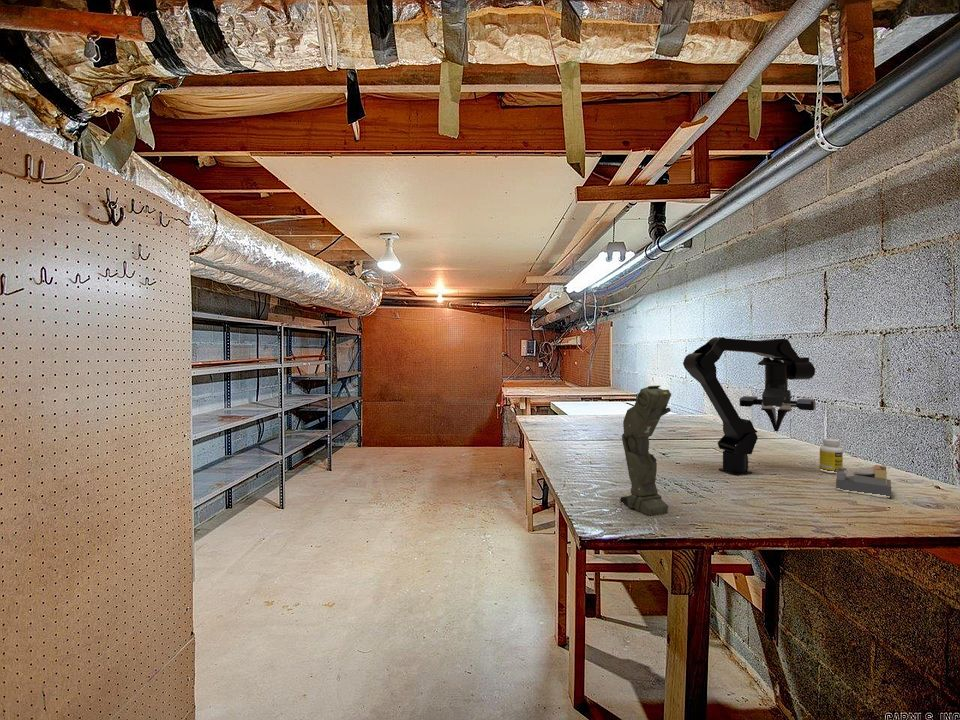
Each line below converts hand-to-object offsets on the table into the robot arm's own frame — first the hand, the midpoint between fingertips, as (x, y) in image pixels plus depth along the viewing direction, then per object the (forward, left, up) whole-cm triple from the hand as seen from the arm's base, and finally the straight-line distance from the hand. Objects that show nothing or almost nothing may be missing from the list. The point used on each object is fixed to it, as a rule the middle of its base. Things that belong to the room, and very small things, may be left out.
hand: (776, 431), depth 135 cm
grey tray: (+2, -22, -12) cm, 25 cm away
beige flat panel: (-1, -19, -8) cm, 20 cm away
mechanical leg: (-59, -14, -12) cm, 62 cm away
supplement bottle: (+13, -7, -12) cm, 19 cm away
